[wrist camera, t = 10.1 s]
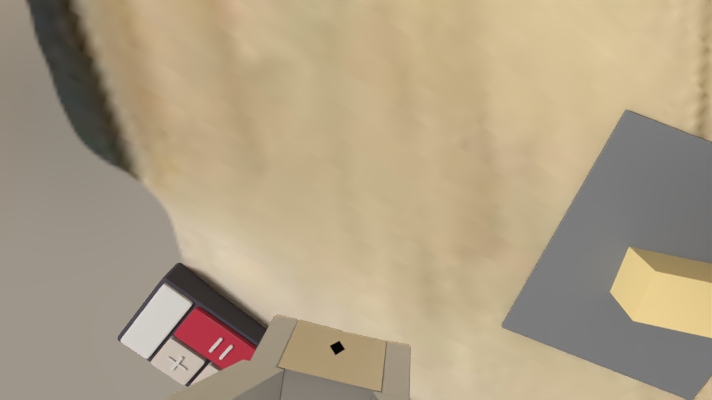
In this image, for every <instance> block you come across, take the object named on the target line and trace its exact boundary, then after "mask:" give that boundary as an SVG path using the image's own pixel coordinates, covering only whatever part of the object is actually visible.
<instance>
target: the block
mask: <svg viewBox="0 0 712 400" xmlns="http://www.w3.org/2000/svg"><path fill="white" fill-rule="evenodd" d="M610 293H611V294H612V295H613V297H614V298H615V299H616V300H617V302H618V303H619V304H620V305H621V307H622V308H623V309H624V310H625V312H626V313H627V314H628V315H629V317H630V318H631V319H632V320H633V321H635V322H640V323H645V324H649V325H654V326H658V327H663V328H667V329H672V330H677V331H681V332H686V333H690V334H695V335H700V336H704V337H709V338H712V264H711V263H706V262H701V261H696V260H691V259H687V258H682V257H677V256H672V255H667V254H663V253H658V252H653V251H648V250H643V249H638V248H634V247H629V248H628V250H627V252H626V255H625V257H624V260H623V262H622V264H621V267H620V269H619V271H618V274H617V276H616V278H615V281H614V283H613V286H612V288H611V290H610Z"/></svg>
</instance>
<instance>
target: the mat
mask: <svg viewBox="0 0 712 400" xmlns="http://www.w3.org/2000/svg"><path fill="white" fill-rule="evenodd" d="M629 247H634V248H638V249H643V250H648V251H653V252H658V253H663V254H667V255H672V256H677V257H682V258H687V259H691V260H696V261H701V262H706V263H711V264H712V143H711V142H709V141H706V140H703V139H701V138H698V137H696V136H693V135H690V134H688V133H685V132H683V131H680V130H677V129H675V128H672V127H670V126H667V125H664V124H662V123H659V122H657V121H654V120H651V119H649V118H646V117H644V116H641V115H638V114H636V113H633V112H631V111H628V110H625V112H624V113H623V115H622V117H621V119H620V120H619V122H618V124H617V125H616V127H615V129H614V131H613V132H612V134H611V136H610V138H609V139H608V141H607V143H606V145H605V146H604V148H603V150H602V152H601V153H600V155H599V157H598V158H597V160H596V162H595V164H594V165H593V167H592V169H591V171H590V172H589V174H588V176H587V178H586V179H585V181H584V183H583V185H582V186H581V188H580V190H579V191H578V193H577V195H576V197H575V198H574V200H573V202H572V204H571V205H570V207H569V209H568V211H567V212H566V214H565V216H564V217H563V219H562V221H561V223H560V224H559V226H558V228H557V230H556V231H555V233H554V235H553V237H552V238H551V240H550V242H549V244H548V245H547V247H546V249H545V250H544V252H543V254H542V256H541V257H540V259H539V261H538V263H537V264H536V266H535V268H534V270H533V271H532V273H531V275H530V277H529V278H528V280H527V282H526V283H525V285H524V287H523V289H522V290H521V292H520V294H519V296H518V297H517V299H516V301H515V303H514V304H513V306H512V308H511V310H510V311H509V313H508V315H507V316H506V318H505V320H504V322H503V323H502V327H503V328H505V329H507V330H510V331H513V332H515V333H518V334H520V335H523V336H525V337H528V338H531V339H533V340H536V341H538V342H541V343H543V344H546V345H549V346H551V347H554V348H556V349H559V350H561V351H564V352H567V353H569V354H572V355H574V356H577V357H579V358H582V359H585V360H587V361H590V362H592V363H595V364H597V365H600V366H603V367H605V368H608V369H610V370H613V371H615V372H618V373H621V374H623V375H626V376H628V377H631V378H633V379H636V380H639V381H641V382H644V383H646V384H649V385H651V386H654V387H657V388H659V389H662V390H664V391H667V392H669V393H672V394H675V395H677V396H680V397H682V398H685V399H687V400H692V399H693V397H694V396H695V395H696V394H697V393H698V391H699V390H700V389H701V388H702V387H703V385H704V384H705V383H706V382H707V380H708V379H709V378H710V377H711V376H712V338H709V337H704V336H700V335H695V334H690V333H686V332H681V331H677V330H672V329H667V328H663V327H658V326H654V325H649V324H645V323H640V322H635V321H633V320H632V319H631V318H630V317H629V315H628V314H627V313H626V312H625V310H624V309H623V308H622V307H621V305H620V304H619V303H618V302H617V300H616V299H615V298H614V297H613V295H612V294H611V293H610V290H611V288H612V286H613V283H614V281H615V278H616V276H617V274H618V271H619V269H620V267H621V264H622V262H623V260H624V257H625V255H626V252H627V250H628V248H629Z"/></svg>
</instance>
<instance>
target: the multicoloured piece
mask: <svg viewBox="0 0 712 400" xmlns="http://www.w3.org/2000/svg"><path fill="white" fill-rule="evenodd" d="M266 330H267V329H265V328H264V327H263V326H261V325H260V324H259V323H258V322H256V321H255V320H254V319H252V318H251V317H250V316H248V315H247V314H246V313H244V312H243V311H242V310H240V309H239V308H237V307H236V306H235V305H233V304H232V303H230V302H229V301H228V300H226V299H225V298H223V297H222V296H221V295H219V294H218V293H216V292H215V291H214V290H212V289H211V288H210V287H209V285H208V284H207V283H206V282H204V281H203V280H202V279H200V278H199V277H198V276H197V275H195V274H194V273H193V272H191V271H190V270H189V269H187V268H186V267H185V265H183V264H182V263H177V264H176V265H175V266H174V267H173V268H172V269H171V270H170V271H169V272H168V273H167V274H166V275H165V276H164V277H163V278H162V280H161V281H160V282H159V284H158V285H157V286H156V287H155V289H154V290H153V291H152V293H151V294H150V295H149V297H148V298H147V299H146V300H145V302H144V303H143V305H142V306H141V307H140V308H139V310H138V311H137V312H136V314H135V315H134V316H133V318H132V319H131V320H130V322H129V323H128V324H127V326H126V327H125V328H124V329H123V331H122V332H121V333H120V335H119V336H118V340H119V341H120V342H121V343H122V344H124V345H126V346H127V347H129V348H130V349H132V350H133V351H135V352H136V353H138V354H139V355H141V356H142V357H144V358H145V359H147V360H148V361H150V362H151V364H152V365H153V366H155V367H156V368H158V369H159V370H161V371H163V372H164V373H166V374H167V375H168V376H170V377H172V378H173V379H174V380H176V381H177V382H179V383H181V384H182V385H186V386H187V387H188V386H190V385H192V384H194V383H197V382H199V381H201V380H203V379H205V378H207V377H209V376H211V375H213V374H215V373H217V372H219V371H221V370H223V369H225V368H227V367H229V366H231V365H233V364H235V363H237V362H239V361H241V360H248V361H250V360H251V358H252V356H253V354H254V352H255V351H256V349H257V347H258V345H259V343H260V341H261V339H262V338H263V336H264V334H265V332H266Z"/></svg>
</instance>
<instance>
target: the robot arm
mask: <svg viewBox="0 0 712 400" xmlns="http://www.w3.org/2000/svg"><path fill="white" fill-rule="evenodd" d="M410 355H411V347H410V346H409V345H408V344H403V343H398V342H393V341H388V340H387V341H384V340H380V339H376V338H371V337H367V336H362V335H358V334H353V333H349V332H344V331H342V330H338V329H334V328H330V327H326V326H322V325H319V324H315V323H311V322H307V321H303V320H298V319H295V318H290V317H286V316H282V315H278V314H277V315H276V316H275V317H273V319H272V321H271V323H270V325H269V327H268V328H267V330H266V332H265V334H264V336H263V338H262V339H261V341H260V343H259V345H258V347H257V349H256V351H255V352H254V354H253V356H252V358H251V360H250V361H248V360H241V361H239V362H237V363H235V364H233V365H231V366H229V367H227V368H225V369H223V370H221V371H219V372H217V373H215V374H213V375H211V376H209V377H207V378H205V379H203V380H201V381H199V382H197V383H194V384H192V385H190V386H188V387H187V388H184V389H182V390H180V391H178V392H176V393H174V394H172V395H170V396H168V397H166V398H164V399H162V400H410Z"/></svg>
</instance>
